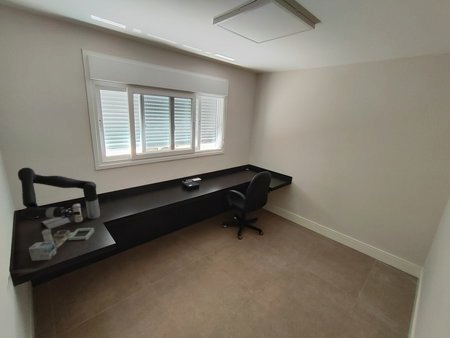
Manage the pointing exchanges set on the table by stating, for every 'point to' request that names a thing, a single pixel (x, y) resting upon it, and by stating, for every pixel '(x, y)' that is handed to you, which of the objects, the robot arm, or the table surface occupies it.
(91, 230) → the tray
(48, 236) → the fuse
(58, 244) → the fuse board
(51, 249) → the light bulb box
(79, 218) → the fuse marked
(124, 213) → the table surface
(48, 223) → the gadget
